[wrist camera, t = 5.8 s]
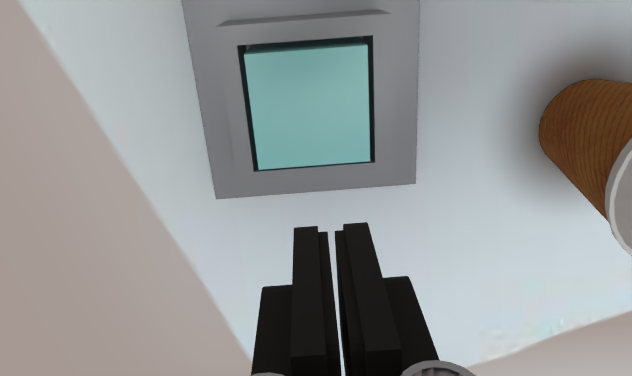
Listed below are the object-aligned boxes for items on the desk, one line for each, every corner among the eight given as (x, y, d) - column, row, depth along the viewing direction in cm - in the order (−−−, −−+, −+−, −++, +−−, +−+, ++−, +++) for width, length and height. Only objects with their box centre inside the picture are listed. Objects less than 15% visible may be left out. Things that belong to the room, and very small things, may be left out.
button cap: (358, 36, 28) (367, 45, 24) (361, 139, 30) (370, 161, 26) (251, 45, 27) (243, 54, 24) (263, 147, 30) (258, 169, 26)
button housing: (415, -38, 28) (440, -42, 23) (411, 177, 33) (430, 209, 29) (182, -21, 28) (158, -21, 23) (218, 192, 33) (205, 226, 29)
